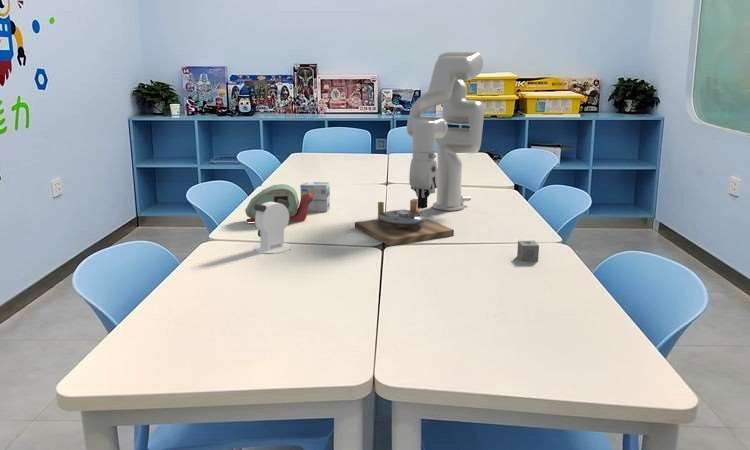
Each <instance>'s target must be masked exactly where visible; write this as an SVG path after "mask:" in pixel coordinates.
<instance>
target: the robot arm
mask: <svg viewBox="0 0 750 450" xmlns="http://www.w3.org/2000/svg"><path fill="white" fill-rule="evenodd" d="M483 59H484V58H483V56H482V54H481V53H480V52H476V51H448V52H443V53H441V54H439V55H438V58H437V59H436V61H435V63H434V66H433V67H434V68H433V72H432V74H431V79H430V83H429V86H428V89H427V91H426V92H425V93H423V94H422V95H421V96H420V97H419V98H418V99H416V101H414V103H413V105H412V106H411V109H410V110H409V114H408V118H407V121H406V122H407V124H406V133H407V135H408V136H409V137H411V138H412V158H411V161H410V166H409V174H408V175H409V176H408V177H409V180H408V181H409V185H410V189H411V190H413V191H414V192H415V195H416V197H417V199H418V208H420V210H423V209H427V208H428V197H429V196H430V195H431V194H435V193H436V201H435V202H434V203H432V208H433V209H435V210H439V211H446V212H447V211H449V212H451V211H460V210H463V209H464V208H465V204H464V203H465V202H470V201H471V200H472V197H471V196H470V195H468V196H464V195H462V174H463V173H462V172H463V164H462V161H461V158H460V156H458V154H468V155H469V154H473V155H474V154H477V153H478V152H480V148H481V145H482V138H483V126H484V119H485V117H484V116H485V111H484V106H483V103H482V102H481V101H478V100H473V99H467V91H468V89H467V88H468V87H467V85H466V83H465V81H471V80H474V78H476V77H477V76H479V75H480V73H481V72H482V70H483V68H484V67H483V66H484V60H483ZM441 104H442V116H441V117H435V116H434V117H433V116H432V117H431V116H422V115H423V113H425V112H426V111H428V110H429V109H432V108H435V107H437V106H439V105H441ZM448 125H454V126H455V125H457V126H458V125H459V126H469V128H465V127H464V128H463V127H449V126H448ZM435 147H436V153H437V155H436V154H435ZM436 156H437V157H436ZM436 158H437V160H435V159H436Z"/></svg>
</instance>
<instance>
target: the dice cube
mask: <svg viewBox="0 0 750 450" xmlns="http://www.w3.org/2000/svg"><path fill="white" fill-rule="evenodd" d="M539 254H540V245H539V244H538V243H537V241H536V240H517V253H516V257H517V258H518V259H519V260H520V262H521V261H523V262H539V256H540V255H539Z"/></svg>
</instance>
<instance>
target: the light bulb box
mask: <svg viewBox="0 0 750 450" xmlns="http://www.w3.org/2000/svg"><path fill="white" fill-rule="evenodd" d="M299 186H300V188H299V189H300V197H301V196H302V195H304V194H306V193H307V190H308V189H309V190H308V193H309V194H312V195H313V201H312V202H310V203H309V205H308V211H307V212H316V211H318V212H320V213H321V212H323V213H326V212H328V211H329V210H330V209H331V196H330V195H331V193H330V188H331V186H330V182H329V181H303V182H302V183H301V184H300V185H299ZM308 187H309V188H308Z"/></svg>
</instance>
